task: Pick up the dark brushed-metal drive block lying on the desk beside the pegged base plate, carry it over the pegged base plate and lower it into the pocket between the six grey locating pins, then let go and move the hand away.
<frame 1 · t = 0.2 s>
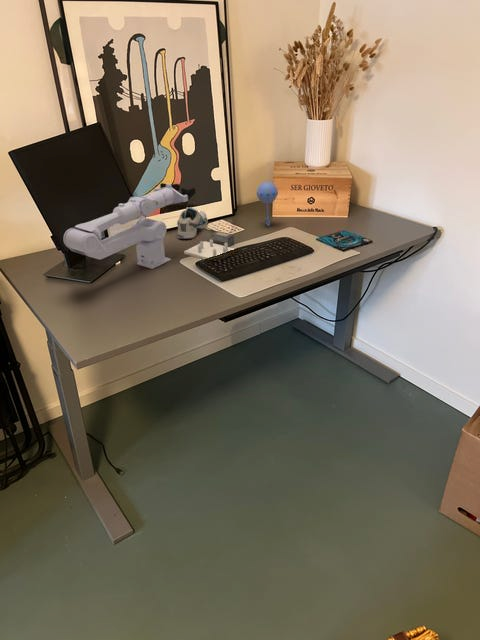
hand: (186, 188, 175), 22 cm above the table, tool horizontal, fingers open, 7 cm apart
baby rattle: (267, 225, 203), on the table
drive: (222, 244, 186), on the table
pegged base plate: (211, 252, 178), on the table
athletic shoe: (193, 231, 201), on the table
guitar string package: (343, 243, 185), on the table
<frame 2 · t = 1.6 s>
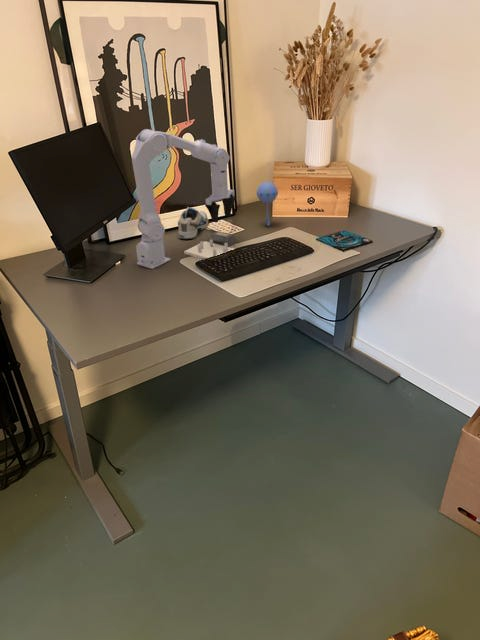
hand: (221, 218, 181), 10 cm above the table, tool pointing down, fingers open, 7 cm apart
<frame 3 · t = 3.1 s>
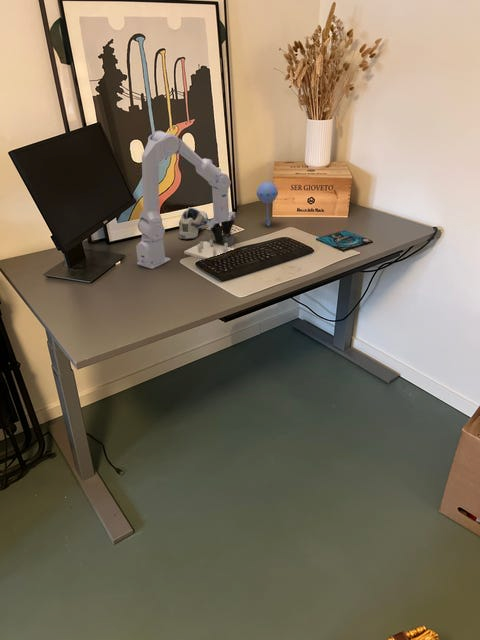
hand: (222, 240, 185), 1 cm above the table, tool pointing down, fingers closed on drive, 4 cm apart
drive: (222, 243, 186), on the table, touching gripper
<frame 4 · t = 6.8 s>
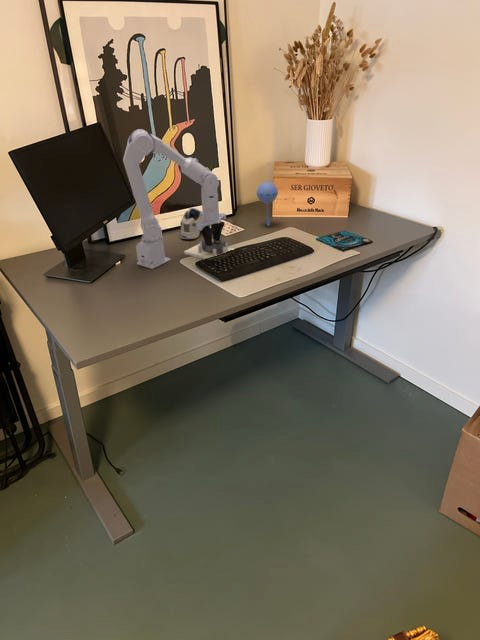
hand: (212, 243, 176), 4 cm above the table, tool pointing down, fingers closed on drive, 4 cm apart
drive: (213, 251, 177), point 1 cm above the table, touching gripper, pegged base plate
when the fingers open (4 cm above the table, at t = 6.8 s): drive stays where it is, resting on pegged base plate.
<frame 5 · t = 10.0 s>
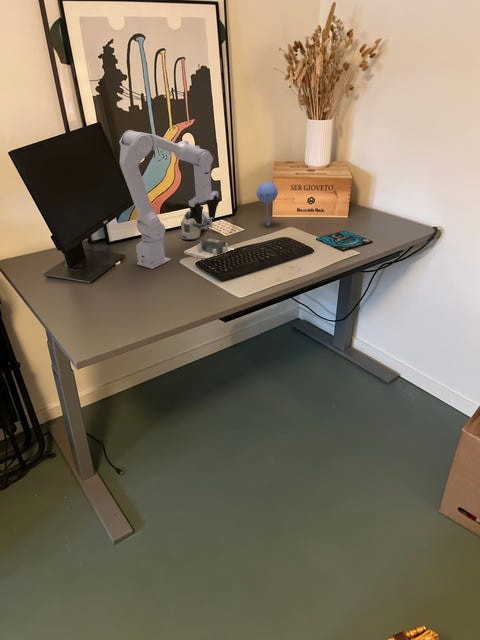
hand: (205, 220, 180), 10 cm above the table, tool pointing down, fingers open, 7 cm apart
drive: (213, 251, 177), point 1 cm above the table, touching pegged base plate
at the end: drive 0.3 cm from the target spot on the pegged base plate, point 1.0 cm above the pegged base plate's base; drive tilted 0°; the gripper is holding nothing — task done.
